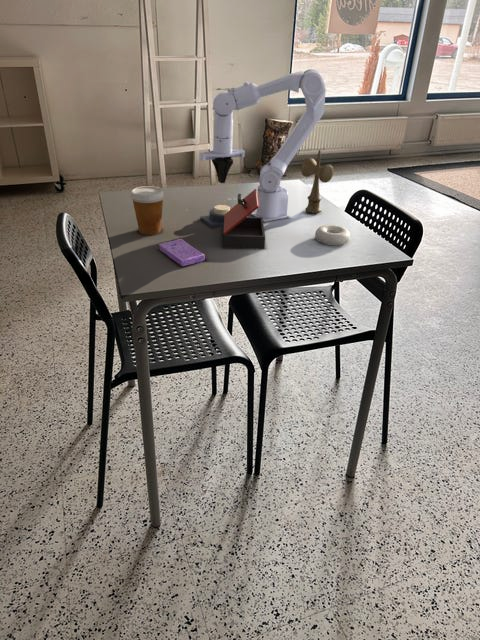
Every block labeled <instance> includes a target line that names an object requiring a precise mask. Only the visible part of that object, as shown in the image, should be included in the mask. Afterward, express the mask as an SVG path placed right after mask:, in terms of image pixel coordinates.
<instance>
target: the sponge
mask: <svg viewBox="0 0 480 640" xmlns="http://www.w3.org/2000/svg"><path fill="white" fill-rule="evenodd" d="M158 246H159V251H160V252H162V253H163V254H165V255H166V256H167V257H169V258H170V259H171V260H173V261H174V262H176V263H177V264H178V265H180V266H182V267H185V266H186V267H187V266H189V265H193V264H197V263H201V262H204V261H206V256H205V254H204V253H203V252H201V251H200V250H198V249H196V248H195V247H193V246H192V245H190V243H188V242H187V241H185V240H184V239H182V238H178V239H173V240H170V241H167V242H161V243H158Z"/></svg>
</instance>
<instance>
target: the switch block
mask: <svg viewBox="0 0 480 640" xmlns="http://www.w3.org/2000/svg"><path fill="white" fill-rule="evenodd" d="M231 209H232V208H230V210H231ZM224 216H225V215H219V214H215V213H214V208H212V209H209V214H207V215H201V216H200V220H201V221H202V222H203V223H205V224H206V225H207V226H209V227H210V228H219V227H224Z"/></svg>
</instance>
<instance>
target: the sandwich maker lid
mask: <svg viewBox="0 0 480 640" xmlns="http://www.w3.org/2000/svg"><path fill="white" fill-rule="evenodd" d="M257 192H258V189H257V188H254V189H253V190H252V191H251V192H250V193H248V194H247V195H246V196H244V195H243V193H238V194H237V203H236V204H235V205H234V206H233V207H232V208H230V209H231V210H229V211H228V212H227V213H226V214H225V216H224V226H223V236H224V235H226V234H227V233H228V232H229V231H231V230H232V229H233V228H234V227H235V226H237V225H238V224H239V223H240V222H242V221H243V220H244V219H245V218H246V217H250V216H251V213H253V212H256V211H257V208H259V205H258V197H257Z"/></svg>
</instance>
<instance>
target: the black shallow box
mask: <svg viewBox="0 0 480 640" xmlns="http://www.w3.org/2000/svg"><path fill="white" fill-rule="evenodd" d="M265 244H266V232H265V224H264V222H263V217H255V216H248V217H246V218H245V219H244V220H243V221H242V222H240V223H239V224H238V225H237V226H235V227H234V228H233V229H232V230H231V231H229V232H228V233H227V234H226V235H224V234H223V248H224V249H248V250H249V249H250V250H251V249H253V250H265V246H266V245H265Z"/></svg>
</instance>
